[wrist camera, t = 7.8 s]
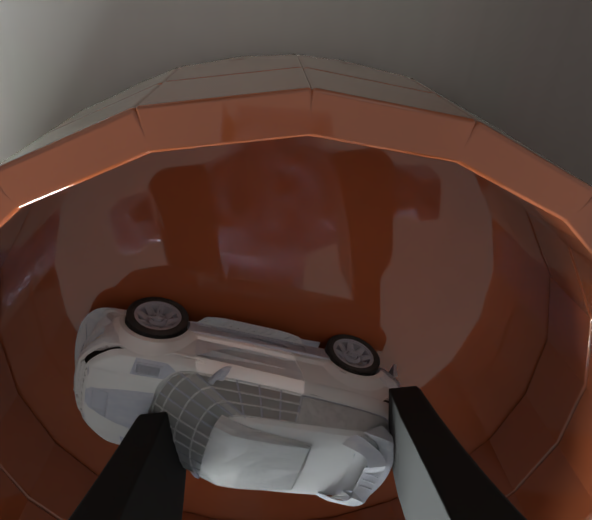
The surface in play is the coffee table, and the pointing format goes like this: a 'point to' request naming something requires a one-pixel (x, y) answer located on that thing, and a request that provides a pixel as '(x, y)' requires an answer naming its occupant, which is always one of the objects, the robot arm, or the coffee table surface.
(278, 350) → the toy car
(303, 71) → the bowl
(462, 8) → the coffee table surface
